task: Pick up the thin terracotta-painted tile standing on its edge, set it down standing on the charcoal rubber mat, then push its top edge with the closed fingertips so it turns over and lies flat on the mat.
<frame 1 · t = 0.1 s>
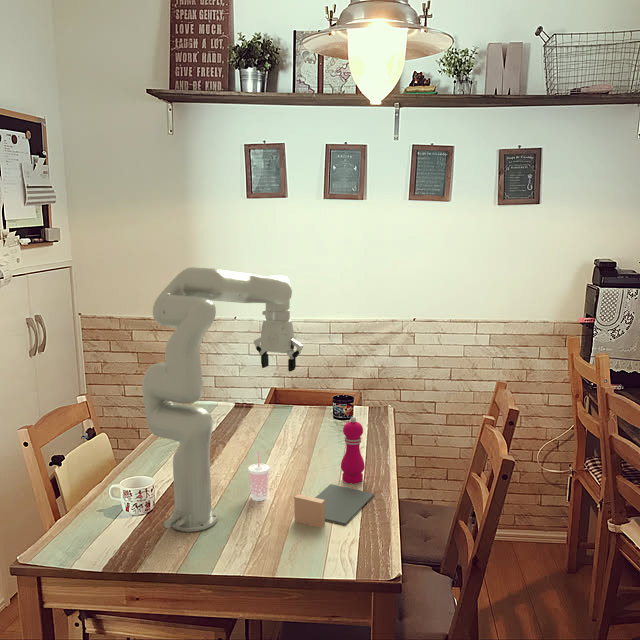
hand: (278, 368, 209), 31 cm above the table, tool pointing down, fingers open, 9 cm apart
beverage cup: (259, 497, 190), on the table
mat: (337, 504, 185), on the table
tile: (309, 523, 175), on the table
pepper mill: (352, 480, 201), on the table
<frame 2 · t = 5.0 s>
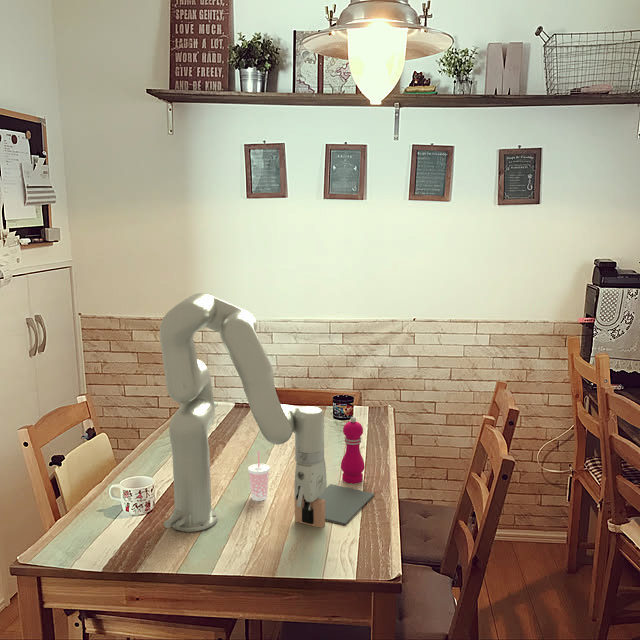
hand: (309, 520, 174), 1 cm above the table, tool pointing down, fingers closed on tile, 1 cm apart
tile: (309, 522, 175), on the table, touching gripper
everything else where it was.
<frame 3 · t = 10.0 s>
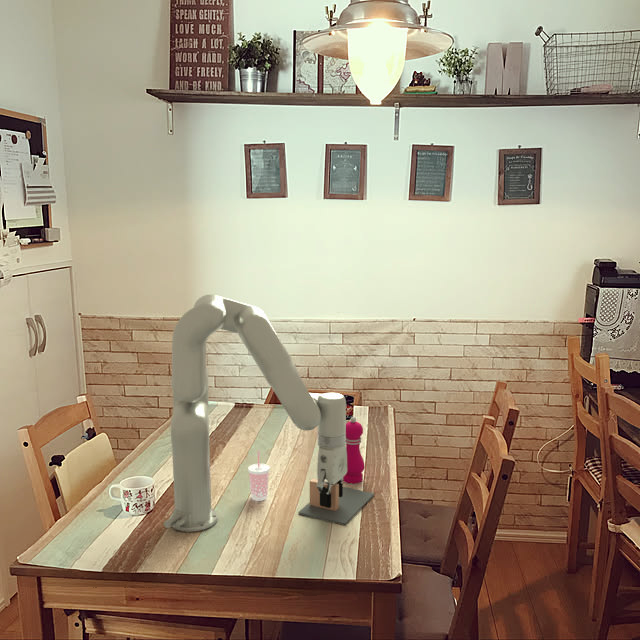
hand: (331, 500, 181), 3 cm above the table, tool pointing down, fingers open, 6 cm apart
tile: (324, 506, 183), point 1 cm above the table, touching mat
everything else where it was.
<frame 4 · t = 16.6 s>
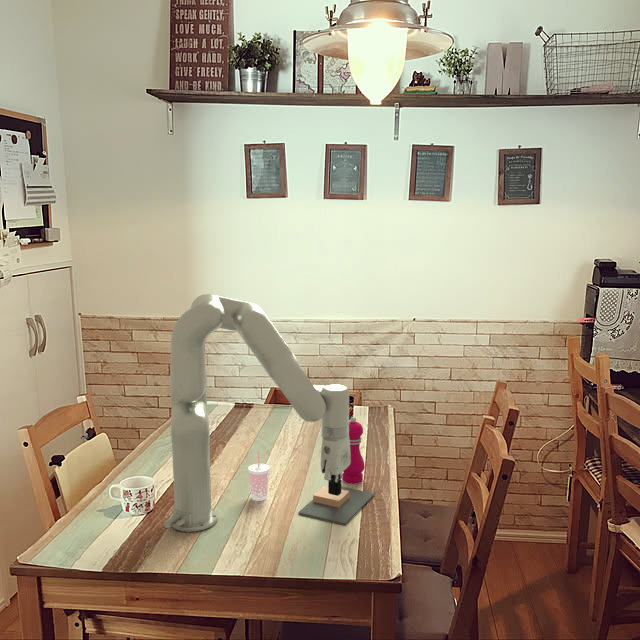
hand: (334, 493, 183), 4 cm above the table, tool pointing down, fingers closed
tile: (325, 501, 183), point 2 cm above the table, tilted 90°, touching mat
everything else where it was.
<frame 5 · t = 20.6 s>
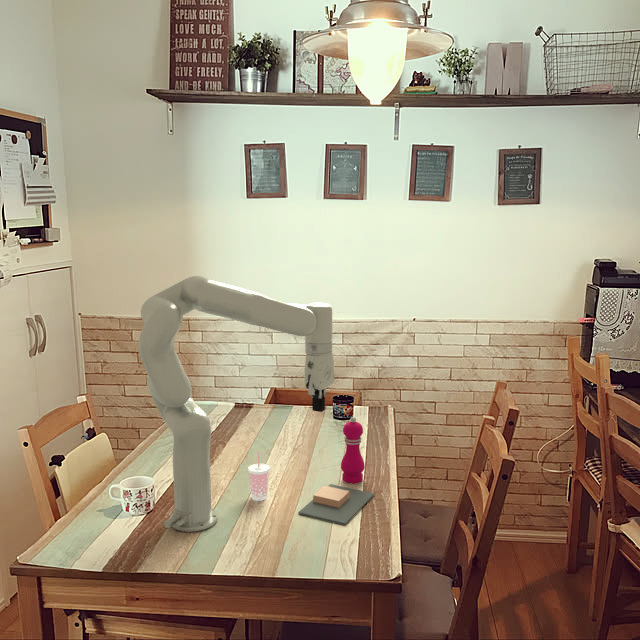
hand: (318, 410, 188), 25 cm above the table, tool pointing down, fingers closed
nothing on the table moved.
at the end: tile tilted 90°; tile inside the target area on the mat (3.5 cm from its centre), point 1.6 cm above the mat's base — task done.
